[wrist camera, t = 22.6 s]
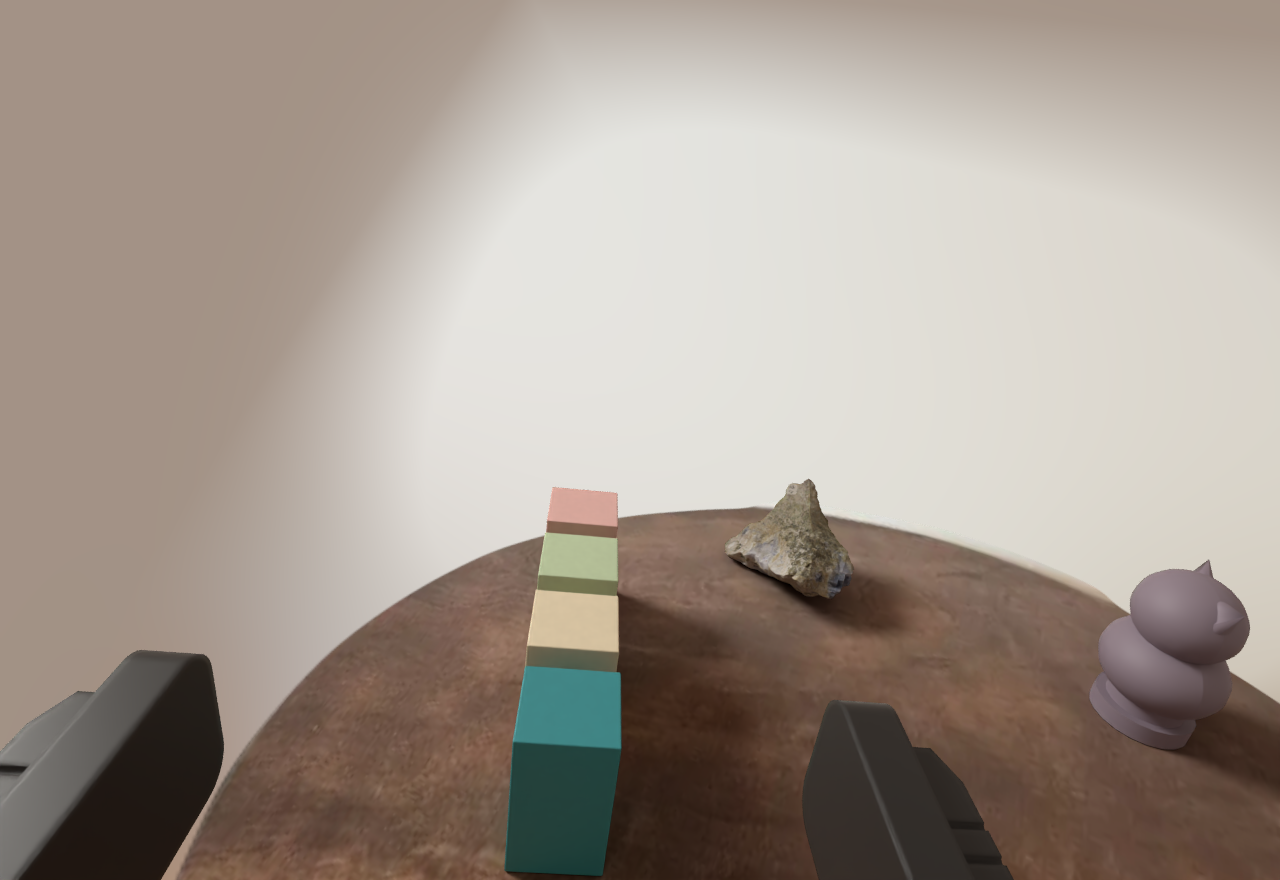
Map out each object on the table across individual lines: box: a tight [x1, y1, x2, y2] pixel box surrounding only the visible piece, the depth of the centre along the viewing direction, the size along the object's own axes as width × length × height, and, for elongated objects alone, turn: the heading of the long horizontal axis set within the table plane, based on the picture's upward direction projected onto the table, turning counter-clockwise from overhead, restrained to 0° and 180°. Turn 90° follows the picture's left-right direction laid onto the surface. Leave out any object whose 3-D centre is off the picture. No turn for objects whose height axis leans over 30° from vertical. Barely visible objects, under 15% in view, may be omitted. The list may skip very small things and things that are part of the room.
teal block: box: [505, 666, 622, 876], centre depth 37 cm, size 5×5×9 cm
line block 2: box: [537, 532, 618, 596], centre depth 49 cm, size 5×5×9 cm
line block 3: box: [525, 590, 619, 672], centre depth 43 cm, size 5×5×9 cm
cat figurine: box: [1090, 560, 1250, 749], centre depth 50 cm, size 8×8×12 cm
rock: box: [725, 479, 854, 599], centre depth 62 cm, size 11×6×10 cm
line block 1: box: [546, 487, 618, 538], centre depth 55 cm, size 5×5×9 cm
